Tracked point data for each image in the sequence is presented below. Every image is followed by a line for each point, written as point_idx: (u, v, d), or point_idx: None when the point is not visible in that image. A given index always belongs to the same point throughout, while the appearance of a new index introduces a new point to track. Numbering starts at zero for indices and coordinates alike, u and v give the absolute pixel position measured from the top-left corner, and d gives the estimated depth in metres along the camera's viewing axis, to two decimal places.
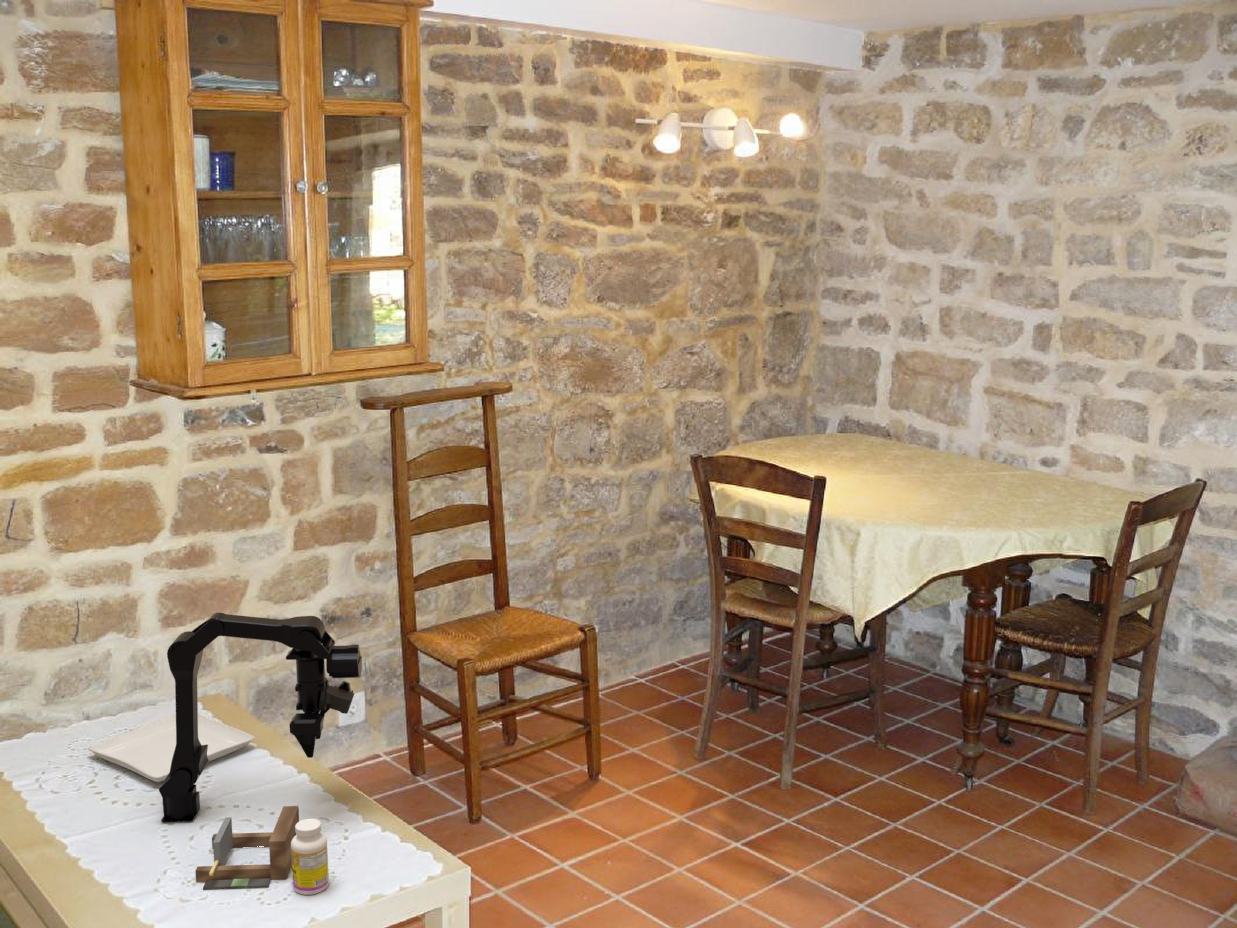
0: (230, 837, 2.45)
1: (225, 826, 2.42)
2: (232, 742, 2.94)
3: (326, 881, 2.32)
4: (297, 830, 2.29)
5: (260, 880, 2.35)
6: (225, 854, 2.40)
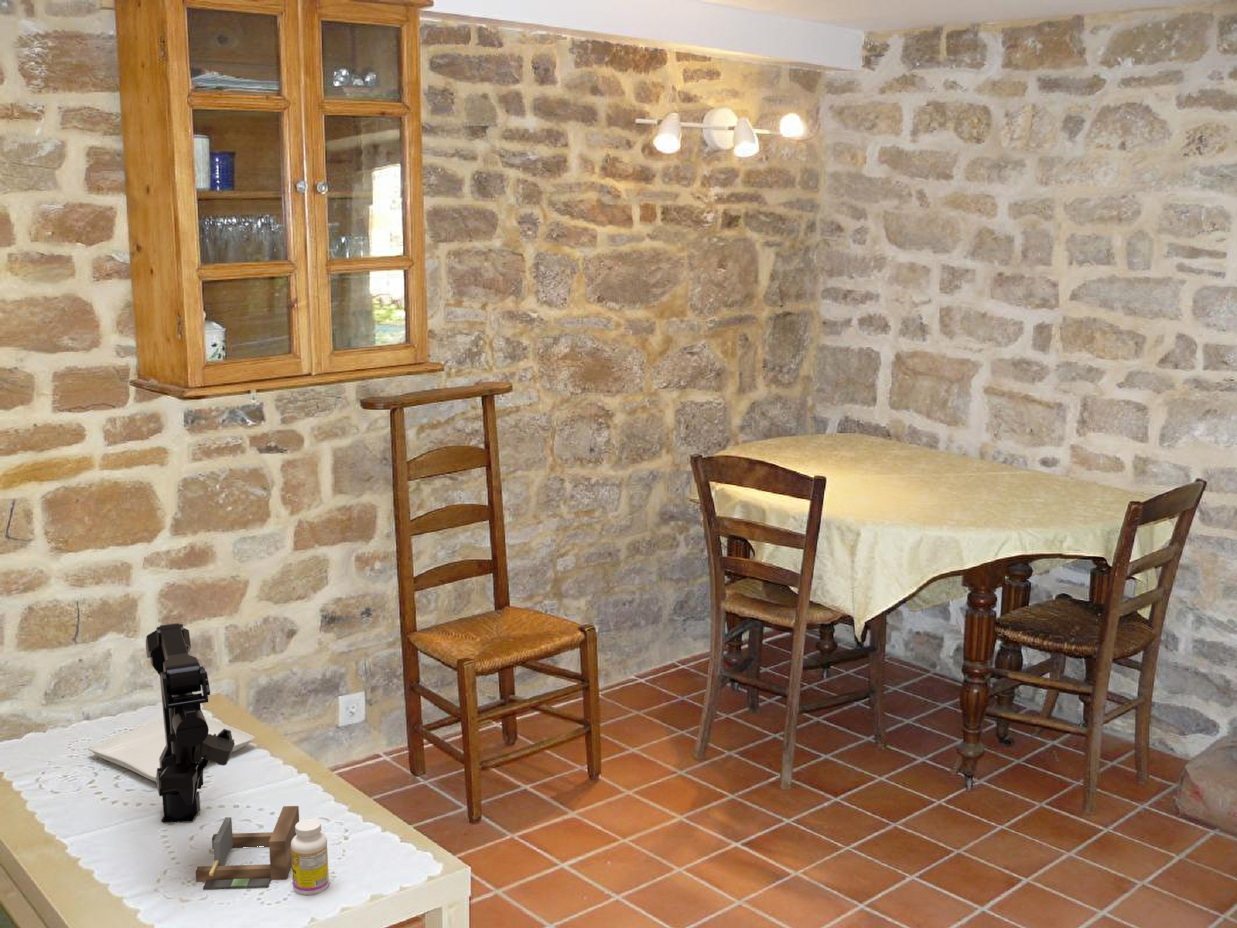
0: (230, 837, 2.45)
1: (225, 826, 2.42)
2: None
3: (326, 881, 2.32)
4: (297, 830, 2.29)
5: (260, 880, 2.35)
6: (225, 854, 2.40)
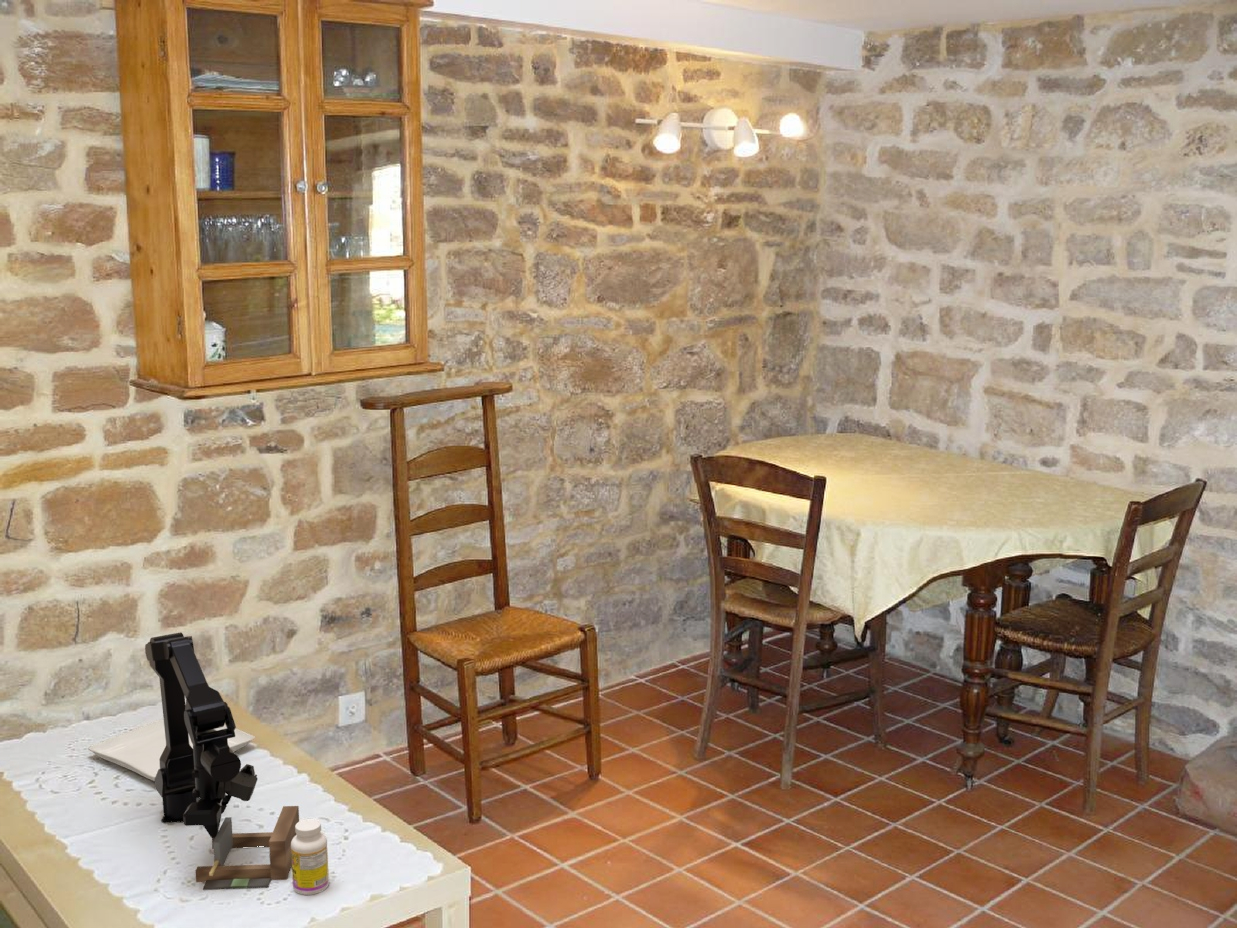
0: (230, 837, 2.45)
1: (225, 826, 2.42)
2: (232, 742, 2.94)
3: (326, 881, 2.32)
4: (297, 830, 2.29)
5: (260, 880, 2.35)
6: (225, 854, 2.40)
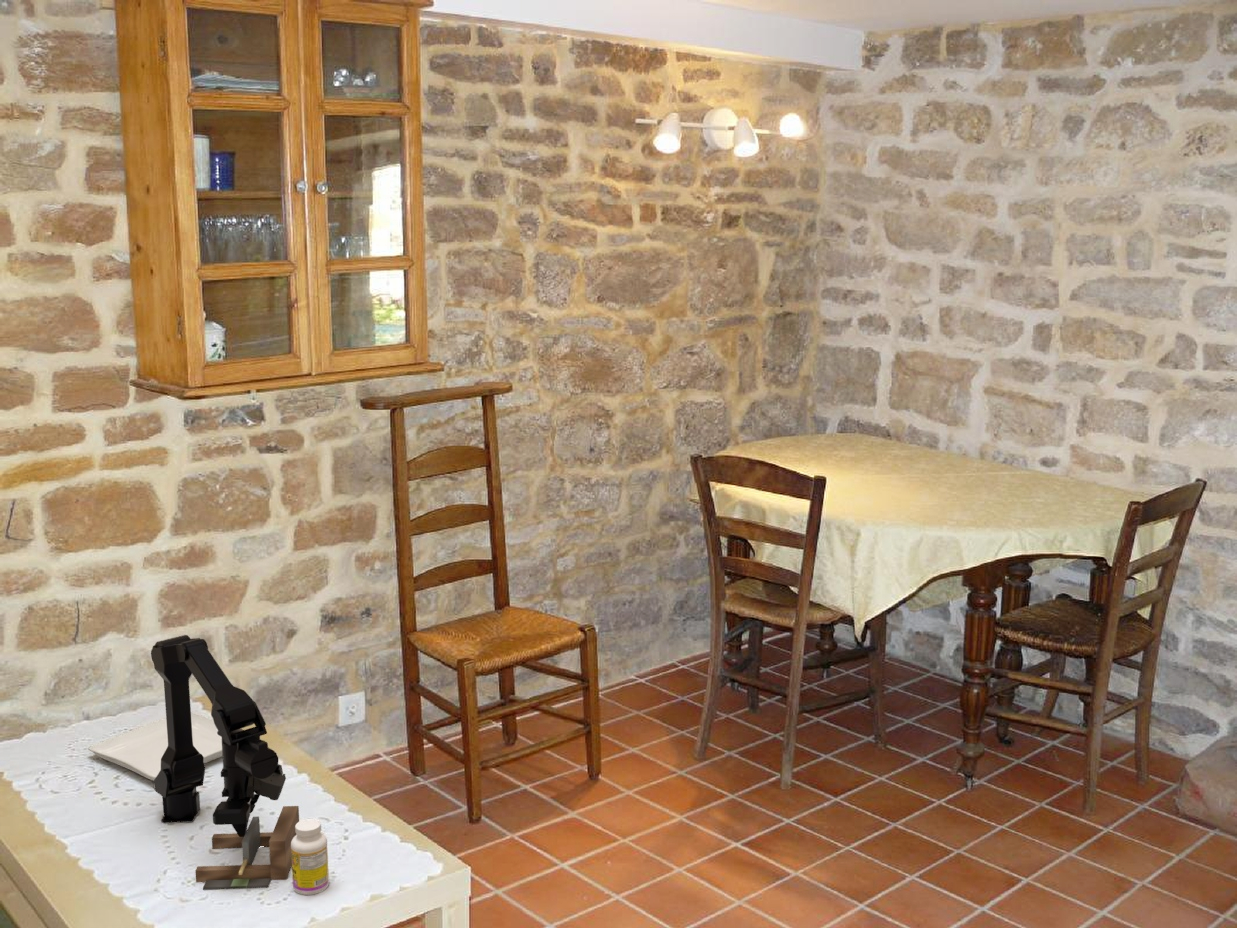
0: (258, 836, 2.45)
1: (253, 825, 2.42)
2: None
3: (326, 881, 2.32)
4: (297, 830, 2.29)
5: (260, 880, 2.35)
6: (253, 853, 2.41)
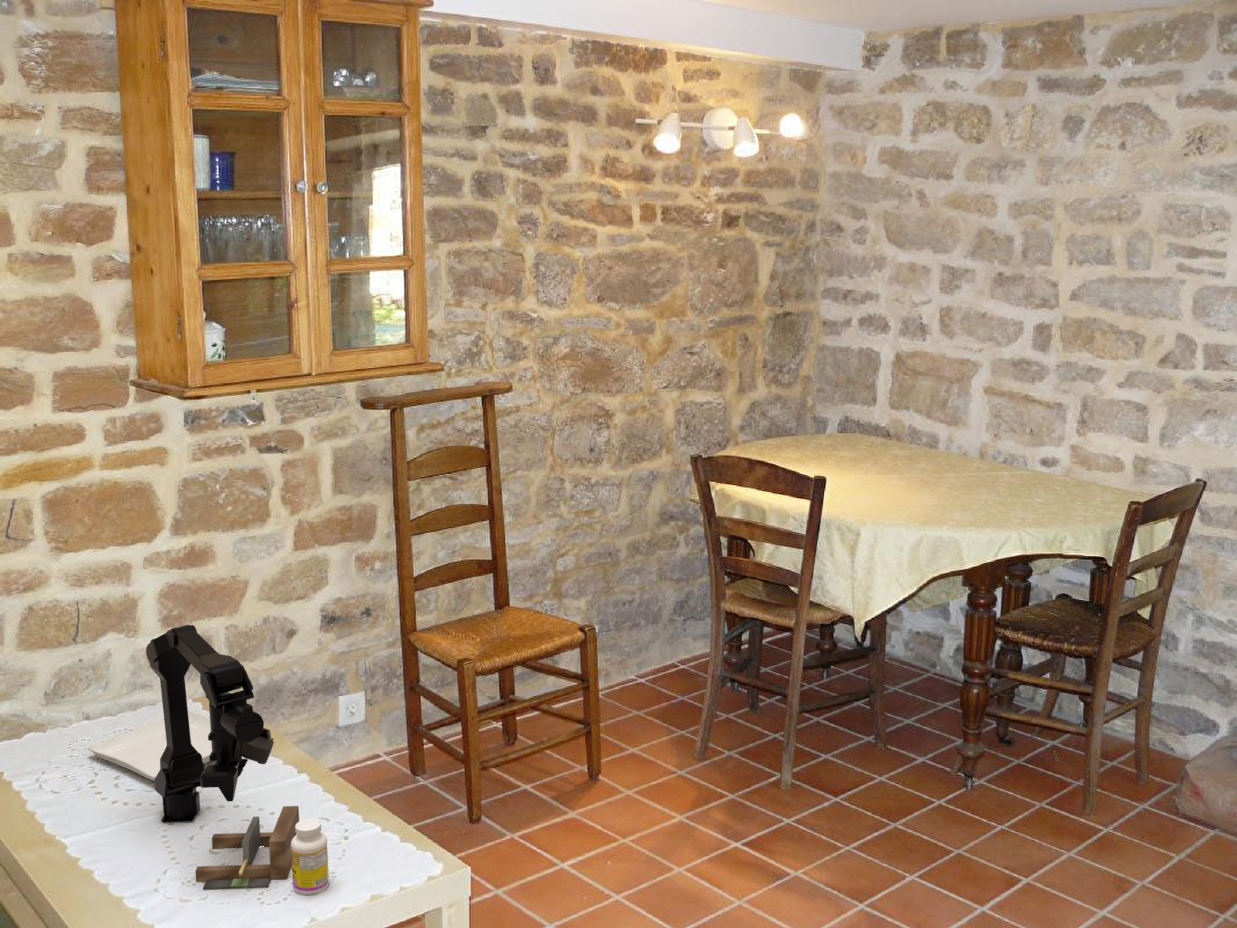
0: (258, 836, 2.45)
1: (253, 825, 2.42)
2: None
3: (326, 881, 2.32)
4: (297, 830, 2.29)
5: (260, 880, 2.35)
6: (253, 853, 2.41)
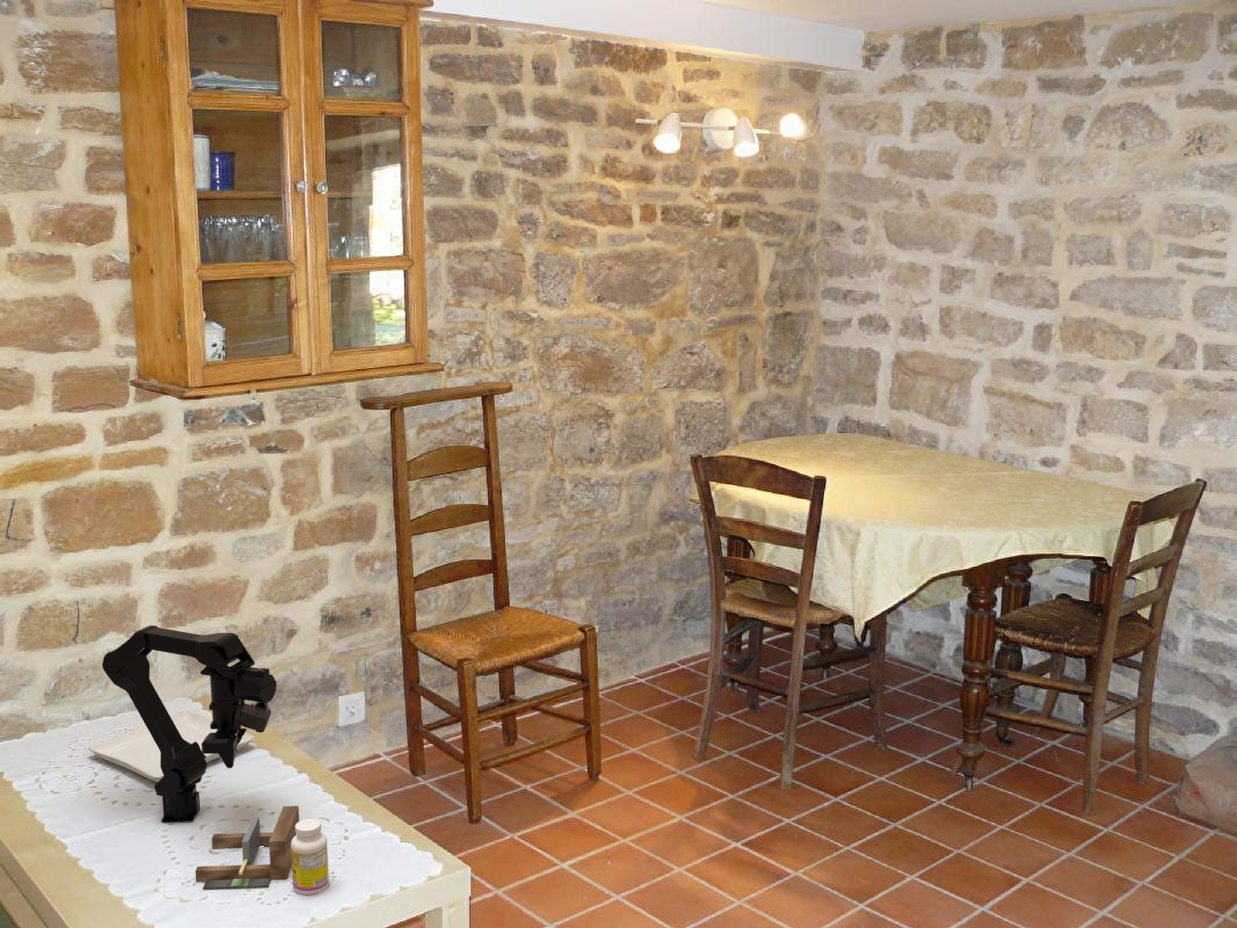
0: (258, 836, 2.45)
1: (253, 825, 2.42)
2: None
3: (326, 881, 2.32)
4: (297, 830, 2.29)
5: (260, 880, 2.35)
6: (253, 853, 2.41)
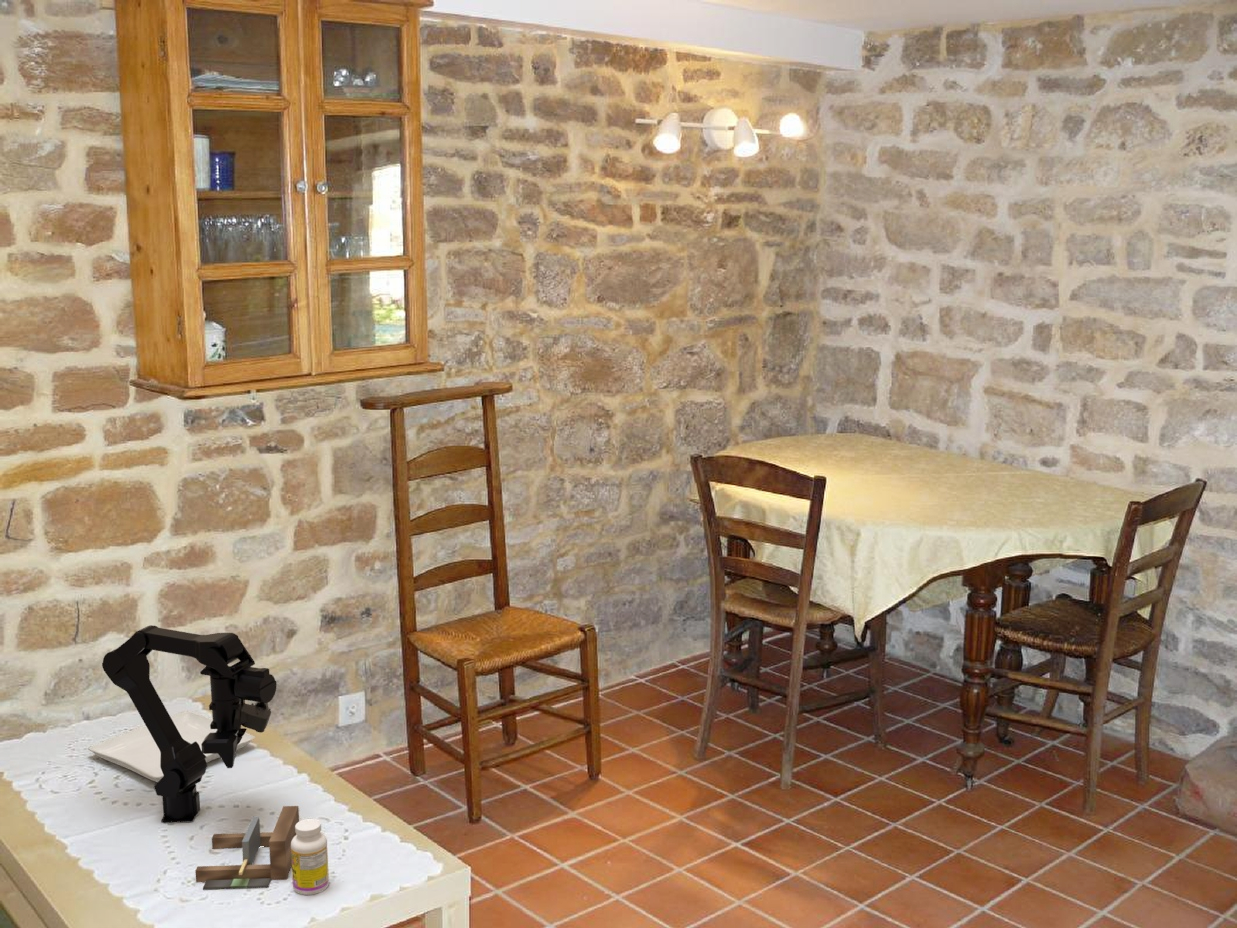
0: (258, 836, 2.45)
1: (253, 825, 2.42)
2: None
3: (326, 881, 2.32)
4: (297, 830, 2.29)
5: (260, 880, 2.35)
6: (253, 853, 2.41)
